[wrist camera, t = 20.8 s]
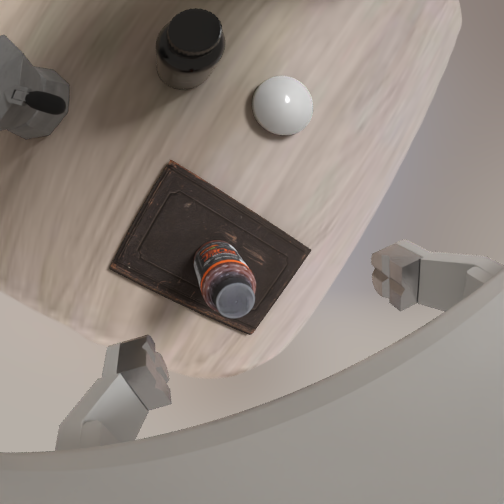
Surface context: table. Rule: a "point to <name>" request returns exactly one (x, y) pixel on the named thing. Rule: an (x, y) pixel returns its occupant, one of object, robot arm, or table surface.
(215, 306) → the supplement bottle
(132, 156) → the table surface
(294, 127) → the white glossy disc
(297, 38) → the table surface
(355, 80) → the table surface
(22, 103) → the coffeepot
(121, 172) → the table surface
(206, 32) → the supplement bottle
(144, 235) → the hardcover book
